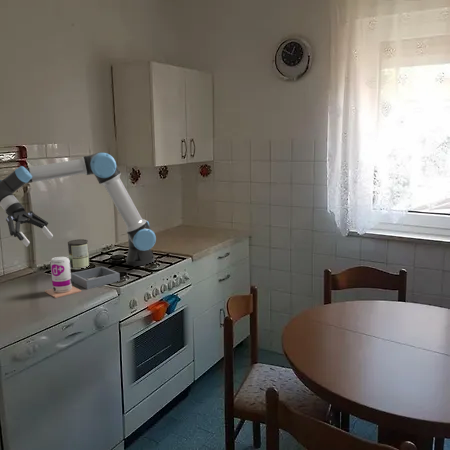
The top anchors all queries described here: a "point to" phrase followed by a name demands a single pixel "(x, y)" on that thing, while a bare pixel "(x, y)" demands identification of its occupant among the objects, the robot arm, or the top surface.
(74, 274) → the parts tub
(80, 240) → the coffee can
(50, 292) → the terracotta tile
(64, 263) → the supplement can
